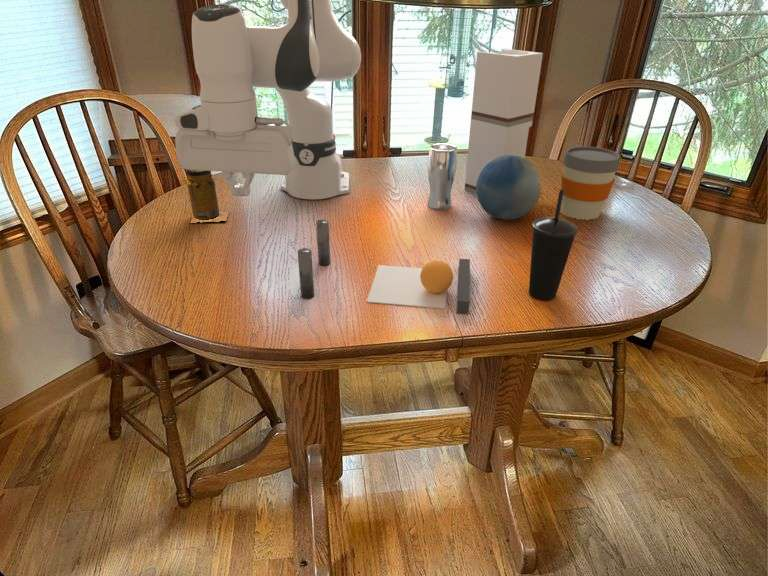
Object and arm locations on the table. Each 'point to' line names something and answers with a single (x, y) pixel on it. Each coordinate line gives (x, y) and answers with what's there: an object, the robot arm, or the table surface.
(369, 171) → the table surface
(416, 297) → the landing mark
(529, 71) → the tall brown-banded box
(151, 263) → the table surface
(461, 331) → the table surface
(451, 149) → the silver metal cylinder
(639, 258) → the table surface
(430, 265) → the ball
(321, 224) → the post
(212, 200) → the condiment
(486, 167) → the decorative ball
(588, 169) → the reusable coffee cup
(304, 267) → the post
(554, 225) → the drinking cup
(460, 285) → the wall
